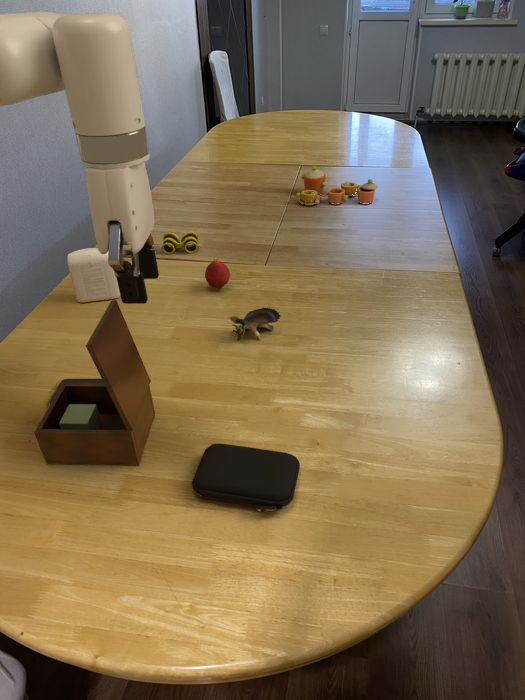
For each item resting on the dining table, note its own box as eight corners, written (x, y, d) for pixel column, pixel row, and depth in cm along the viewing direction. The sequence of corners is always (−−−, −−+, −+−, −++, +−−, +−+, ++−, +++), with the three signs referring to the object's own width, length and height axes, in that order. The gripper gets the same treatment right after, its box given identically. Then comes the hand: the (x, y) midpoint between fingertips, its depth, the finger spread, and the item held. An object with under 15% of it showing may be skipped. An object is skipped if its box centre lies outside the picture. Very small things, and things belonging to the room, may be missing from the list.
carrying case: (186, 505, 73) (289, 522, 70) (183, 491, 71) (289, 508, 68) (208, 450, 81) (301, 463, 78) (207, 436, 79) (301, 449, 77)
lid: (85, 345, 66) (91, 345, 66) (111, 300, 76) (116, 299, 76) (127, 431, 75) (133, 431, 75) (146, 381, 84) (151, 380, 84)
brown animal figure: (253, 348, 101) (287, 325, 105) (235, 317, 100) (270, 294, 103) (238, 350, 108) (270, 328, 112) (221, 320, 107) (254, 299, 110)
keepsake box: (46, 464, 80) (33, 432, 76) (72, 413, 89) (62, 382, 85) (139, 465, 79) (131, 433, 75) (155, 414, 89) (149, 383, 85)
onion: (225, 296, 121) (222, 265, 116) (202, 292, 123) (199, 262, 118) (234, 284, 125) (232, 254, 121) (212, 281, 127) (209, 251, 122)
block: (66, 444, 82) (58, 423, 80) (75, 424, 86) (69, 404, 83) (93, 444, 82) (87, 423, 79) (102, 424, 86) (96, 404, 83)
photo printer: (121, 290, 125) (111, 242, 118) (121, 299, 122) (110, 250, 114) (77, 296, 123) (64, 248, 116) (76, 305, 120) (62, 256, 113)
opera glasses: (163, 257, 141) (160, 242, 138) (164, 246, 145) (161, 230, 141) (198, 255, 141) (196, 240, 138) (199, 244, 145) (197, 229, 141)
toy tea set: (295, 207, 167) (295, 177, 161) (297, 191, 179) (297, 163, 174) (377, 207, 164) (380, 176, 159) (373, 191, 177) (375, 162, 171)
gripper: (103, 128, 64) (130, 261, 75) (51, 170, 50) (92, 325, 61) (163, 127, 64) (181, 260, 74) (126, 168, 50) (155, 325, 61)
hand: (141, 288), depth 68 cm, fingers open, 5 cm apart
